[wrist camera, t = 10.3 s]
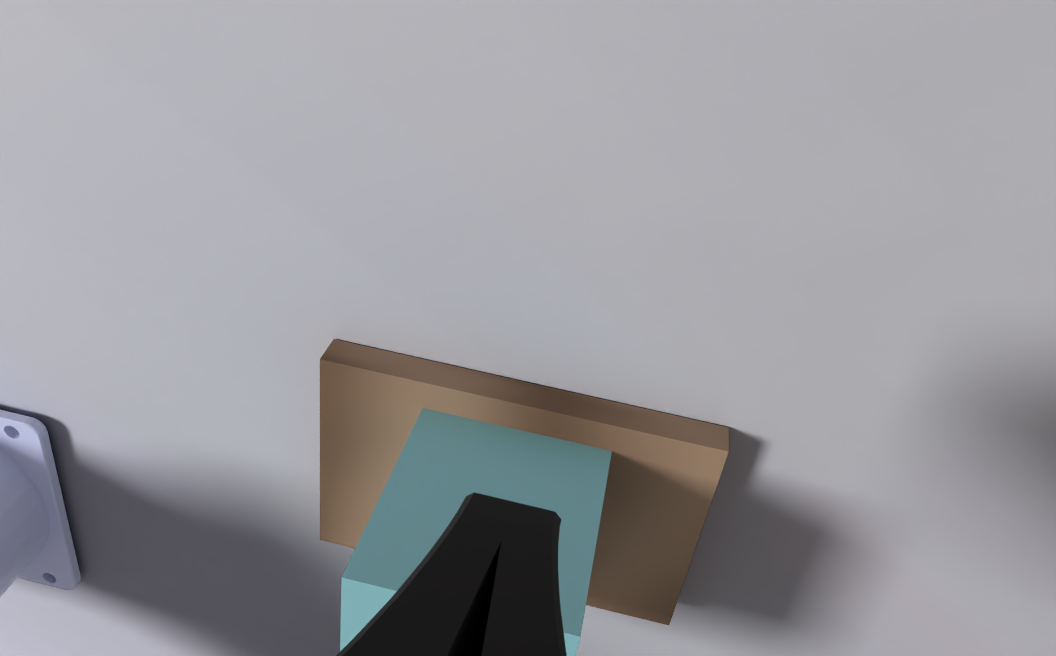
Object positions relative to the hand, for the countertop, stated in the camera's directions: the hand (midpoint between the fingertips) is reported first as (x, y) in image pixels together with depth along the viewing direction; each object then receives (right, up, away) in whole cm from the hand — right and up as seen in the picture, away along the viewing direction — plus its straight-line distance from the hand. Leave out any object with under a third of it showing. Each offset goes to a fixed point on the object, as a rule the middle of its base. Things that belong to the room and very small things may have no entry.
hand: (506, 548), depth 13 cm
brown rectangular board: (0, -1, +13) cm, 13 cm away
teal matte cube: (0, -2, +12) cm, 12 cm away
